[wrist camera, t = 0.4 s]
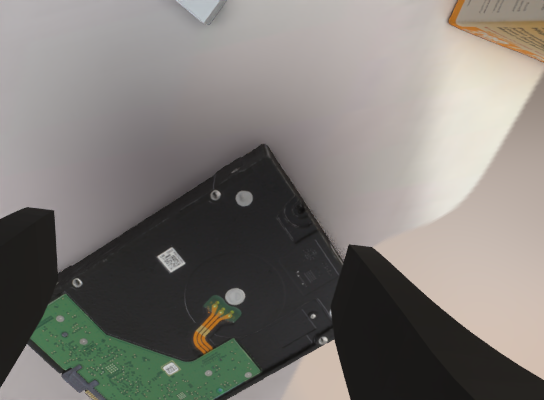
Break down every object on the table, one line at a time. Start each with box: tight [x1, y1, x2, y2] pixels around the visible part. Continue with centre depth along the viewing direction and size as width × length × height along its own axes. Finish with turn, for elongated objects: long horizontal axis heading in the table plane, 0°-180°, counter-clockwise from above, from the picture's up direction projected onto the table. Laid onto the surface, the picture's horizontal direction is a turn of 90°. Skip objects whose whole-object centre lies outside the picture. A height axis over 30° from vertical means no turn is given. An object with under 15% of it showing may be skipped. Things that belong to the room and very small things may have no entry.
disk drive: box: [27, 144, 344, 400], centre depth 23 cm, size 10×3×15 cm
